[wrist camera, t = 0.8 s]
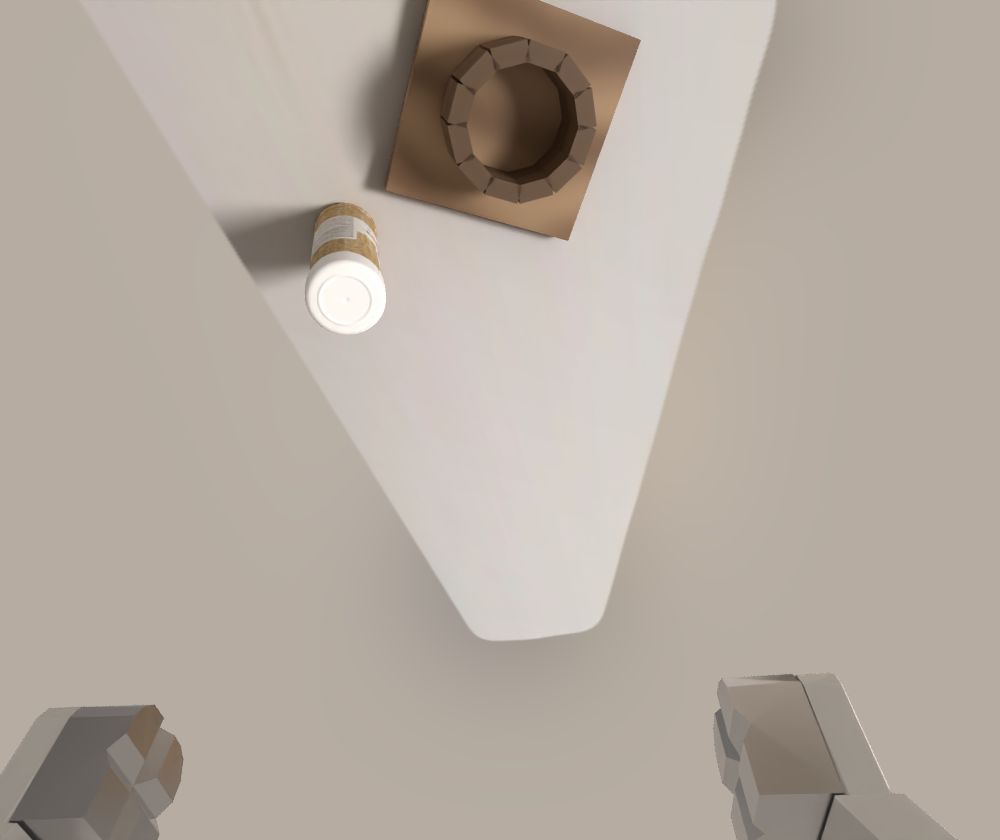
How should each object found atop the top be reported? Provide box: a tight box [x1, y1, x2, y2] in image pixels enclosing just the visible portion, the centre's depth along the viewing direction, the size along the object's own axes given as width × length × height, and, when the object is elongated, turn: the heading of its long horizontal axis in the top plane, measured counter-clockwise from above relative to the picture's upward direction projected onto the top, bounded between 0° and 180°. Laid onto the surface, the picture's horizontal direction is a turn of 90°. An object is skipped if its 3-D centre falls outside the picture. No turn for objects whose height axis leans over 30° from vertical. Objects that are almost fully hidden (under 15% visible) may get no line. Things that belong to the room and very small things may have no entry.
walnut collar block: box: [385, 0, 641, 241], centre depth 46 cm, size 14×14×6 cm
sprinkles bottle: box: [305, 203, 386, 335], centre depth 45 cm, size 5×5×14 cm
